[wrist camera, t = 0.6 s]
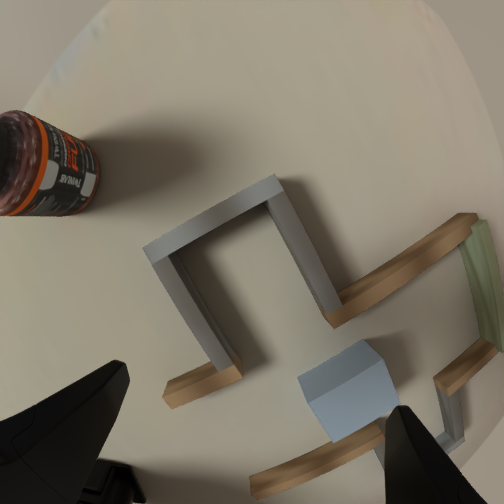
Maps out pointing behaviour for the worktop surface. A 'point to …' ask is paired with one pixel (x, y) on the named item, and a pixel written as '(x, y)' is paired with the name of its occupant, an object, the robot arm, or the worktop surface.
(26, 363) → the worktop surface
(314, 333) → the worktop surface
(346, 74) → the worktop surface
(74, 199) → the supplement bottle
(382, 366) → the block
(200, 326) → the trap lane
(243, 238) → the worktop surface
